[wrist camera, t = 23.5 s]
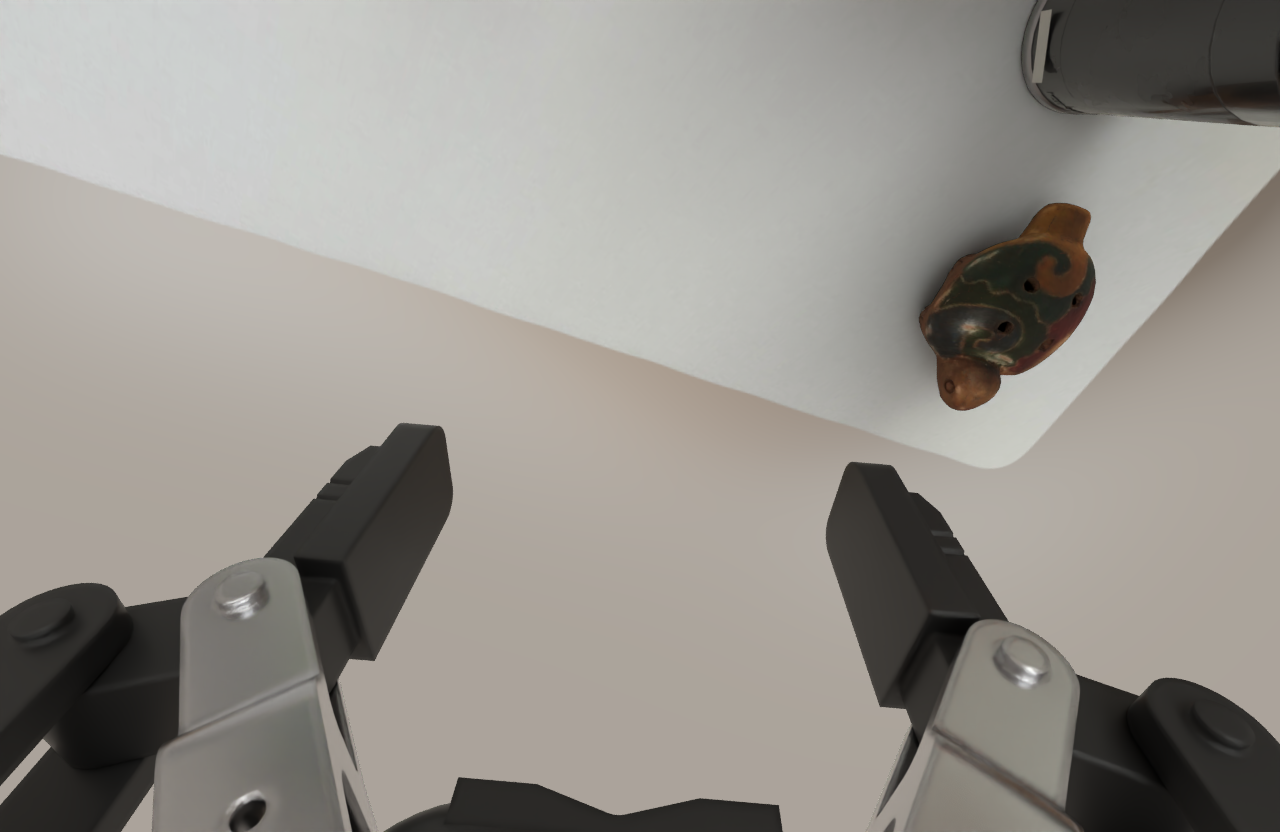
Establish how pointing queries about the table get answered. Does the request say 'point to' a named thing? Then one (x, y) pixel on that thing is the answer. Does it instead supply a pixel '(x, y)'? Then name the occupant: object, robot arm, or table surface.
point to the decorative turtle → (1010, 306)
